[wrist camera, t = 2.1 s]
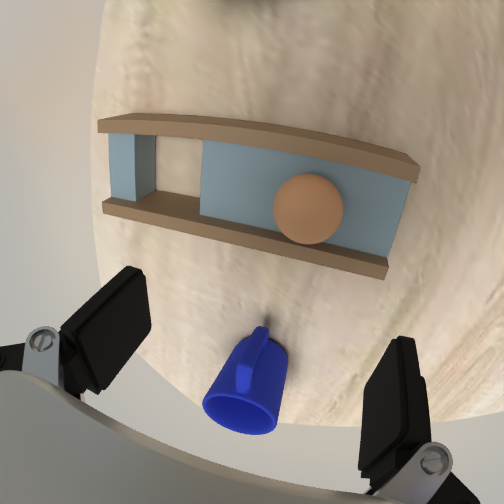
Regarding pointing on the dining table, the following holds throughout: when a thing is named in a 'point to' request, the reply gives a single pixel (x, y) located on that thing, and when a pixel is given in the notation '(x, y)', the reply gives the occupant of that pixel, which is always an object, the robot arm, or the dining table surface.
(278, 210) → the ball
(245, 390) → the mug
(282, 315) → the dining table surface
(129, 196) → the board
